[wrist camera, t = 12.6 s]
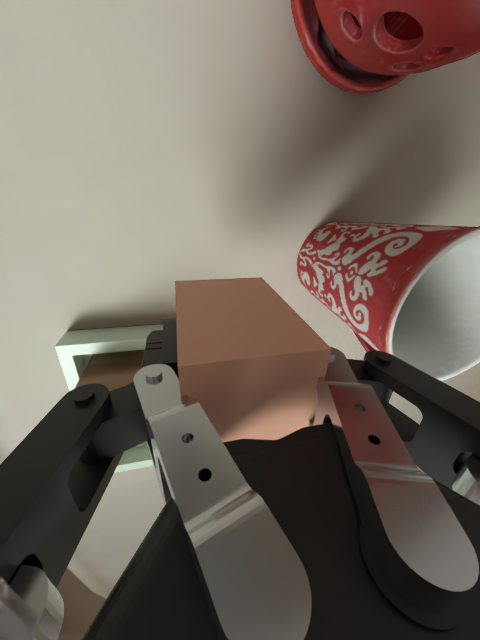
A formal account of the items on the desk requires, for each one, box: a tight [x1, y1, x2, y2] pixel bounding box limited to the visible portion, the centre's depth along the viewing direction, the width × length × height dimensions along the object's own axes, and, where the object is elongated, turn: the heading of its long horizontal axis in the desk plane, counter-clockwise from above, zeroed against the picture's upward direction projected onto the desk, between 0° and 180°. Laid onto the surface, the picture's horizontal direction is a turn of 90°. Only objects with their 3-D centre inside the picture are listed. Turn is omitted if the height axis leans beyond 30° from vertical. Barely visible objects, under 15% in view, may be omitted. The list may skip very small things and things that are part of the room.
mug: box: [297, 222, 480, 381], centre depth 20 cm, size 13×9×14 cm
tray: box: [55, 324, 163, 473], centre depth 26 cm, size 16×16×3 cm
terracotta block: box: [175, 277, 331, 442], centre depth 11 cm, size 4×4×7 cm
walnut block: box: [75, 350, 145, 447], centre depth 22 cm, size 4×4×7 cm
